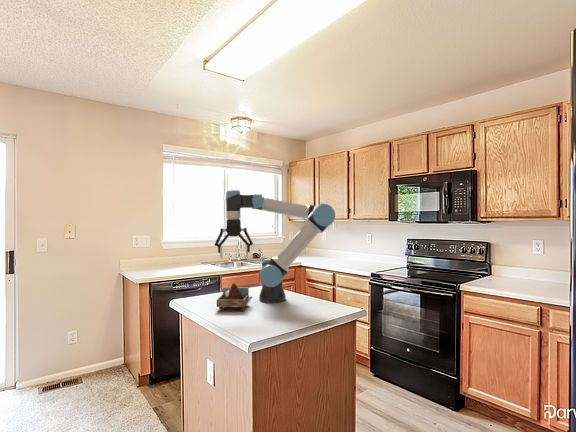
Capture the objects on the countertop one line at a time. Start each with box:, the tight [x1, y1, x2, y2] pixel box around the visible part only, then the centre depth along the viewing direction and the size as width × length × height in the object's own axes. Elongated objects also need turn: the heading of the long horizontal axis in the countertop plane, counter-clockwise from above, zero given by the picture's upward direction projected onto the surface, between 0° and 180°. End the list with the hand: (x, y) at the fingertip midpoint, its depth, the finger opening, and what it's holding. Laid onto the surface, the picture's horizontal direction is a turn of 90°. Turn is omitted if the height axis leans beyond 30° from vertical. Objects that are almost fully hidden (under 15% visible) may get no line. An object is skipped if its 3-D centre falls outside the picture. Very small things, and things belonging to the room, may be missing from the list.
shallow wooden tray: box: [216, 286, 250, 310], centre depth 172 cm, size 14×14×9 cm
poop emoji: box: [225, 283, 242, 300], centre depth 173 cm, size 10×8×9 cm
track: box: [217, 296, 253, 313], centre depth 180 cm, size 13×32×1 cm, turn 178°
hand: (234, 258), depth 176 cm, fingers open, 13 cm apart
